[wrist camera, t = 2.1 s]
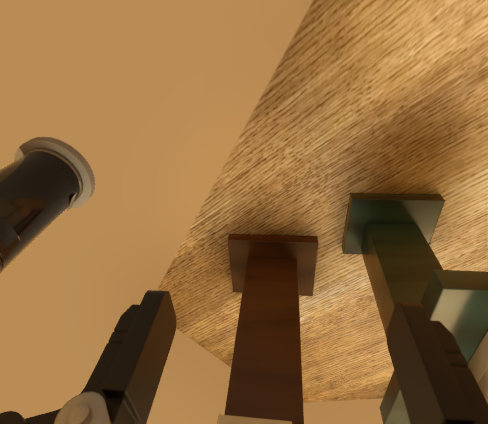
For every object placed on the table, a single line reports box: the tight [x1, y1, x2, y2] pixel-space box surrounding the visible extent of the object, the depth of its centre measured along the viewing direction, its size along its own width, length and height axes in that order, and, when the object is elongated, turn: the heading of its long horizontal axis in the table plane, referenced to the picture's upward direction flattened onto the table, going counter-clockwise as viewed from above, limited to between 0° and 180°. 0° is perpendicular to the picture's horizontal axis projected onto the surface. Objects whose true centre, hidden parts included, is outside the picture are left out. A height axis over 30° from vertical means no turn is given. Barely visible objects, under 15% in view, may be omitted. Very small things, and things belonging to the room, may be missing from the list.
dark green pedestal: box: [342, 194, 488, 424], centre depth 33 cm, size 22×12×29 cm, turn 3°
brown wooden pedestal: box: [225, 234, 318, 424], centre depth 40 cm, size 14×15×33 cm
